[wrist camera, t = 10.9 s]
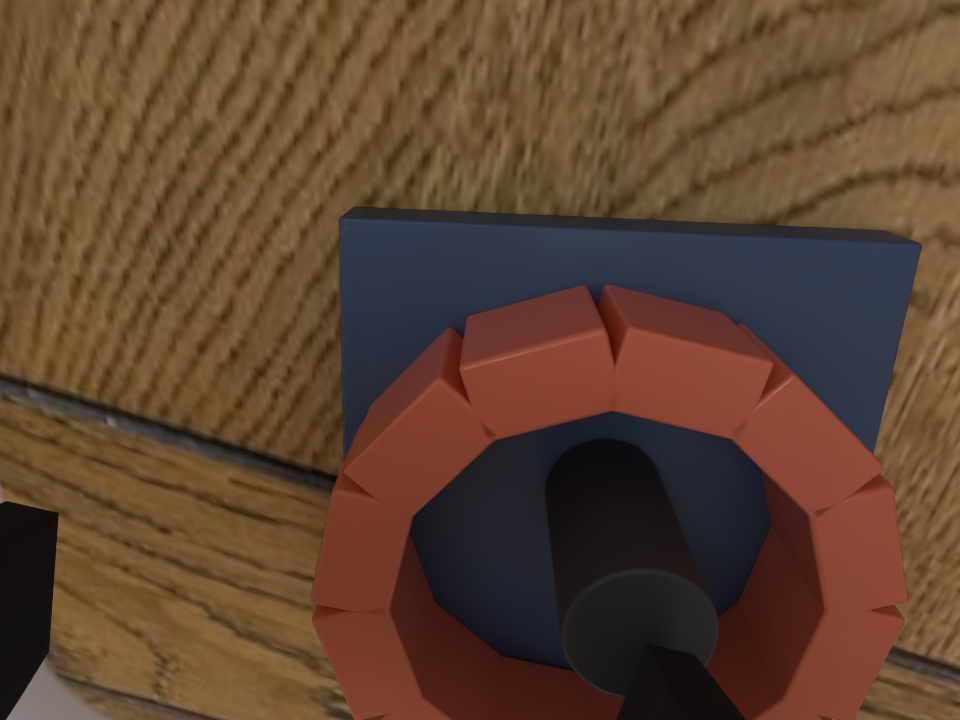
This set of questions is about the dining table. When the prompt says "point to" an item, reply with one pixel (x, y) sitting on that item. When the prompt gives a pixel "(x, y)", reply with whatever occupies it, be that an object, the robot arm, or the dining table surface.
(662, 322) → the segmented red ring
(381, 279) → the ring stacking peg
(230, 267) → the dining table surface
